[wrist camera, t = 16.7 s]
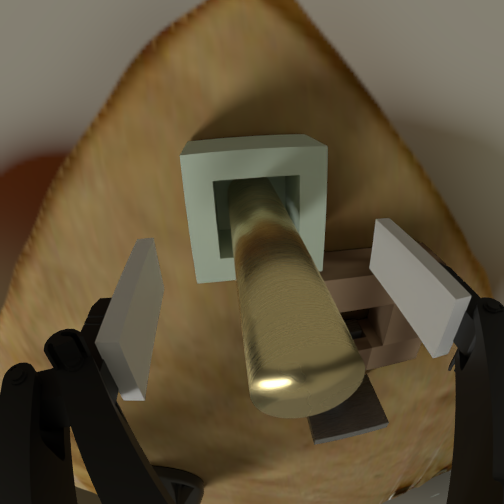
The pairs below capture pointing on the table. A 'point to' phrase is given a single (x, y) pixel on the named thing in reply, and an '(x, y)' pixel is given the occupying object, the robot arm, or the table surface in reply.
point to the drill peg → (286, 311)
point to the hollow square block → (251, 166)
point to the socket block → (370, 307)
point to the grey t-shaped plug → (350, 410)
